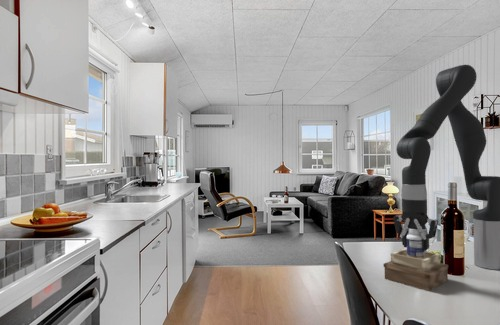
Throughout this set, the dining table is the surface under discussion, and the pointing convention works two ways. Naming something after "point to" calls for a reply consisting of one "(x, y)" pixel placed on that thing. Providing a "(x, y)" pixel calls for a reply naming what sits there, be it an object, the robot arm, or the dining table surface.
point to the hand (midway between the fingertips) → (415, 248)
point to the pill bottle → (415, 244)
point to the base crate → (417, 276)
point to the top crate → (415, 260)
